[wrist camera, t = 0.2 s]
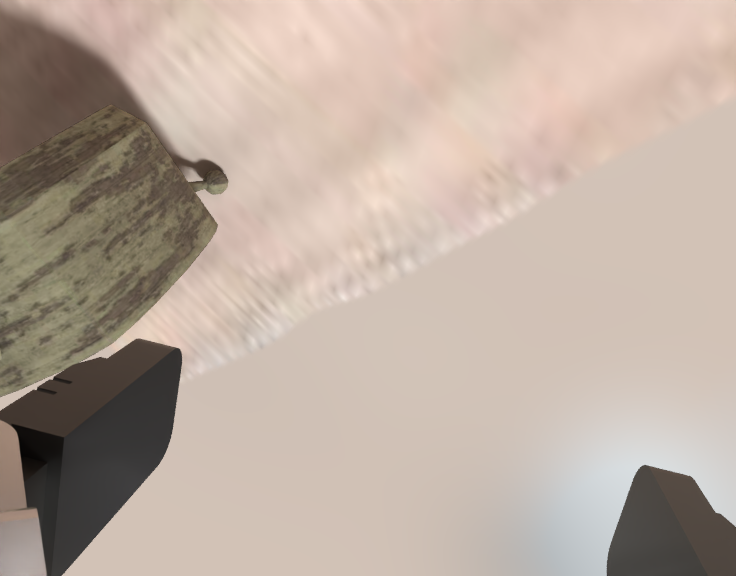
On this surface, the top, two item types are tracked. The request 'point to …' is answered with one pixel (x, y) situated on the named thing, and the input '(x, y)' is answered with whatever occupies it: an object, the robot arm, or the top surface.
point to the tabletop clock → (91, 241)
